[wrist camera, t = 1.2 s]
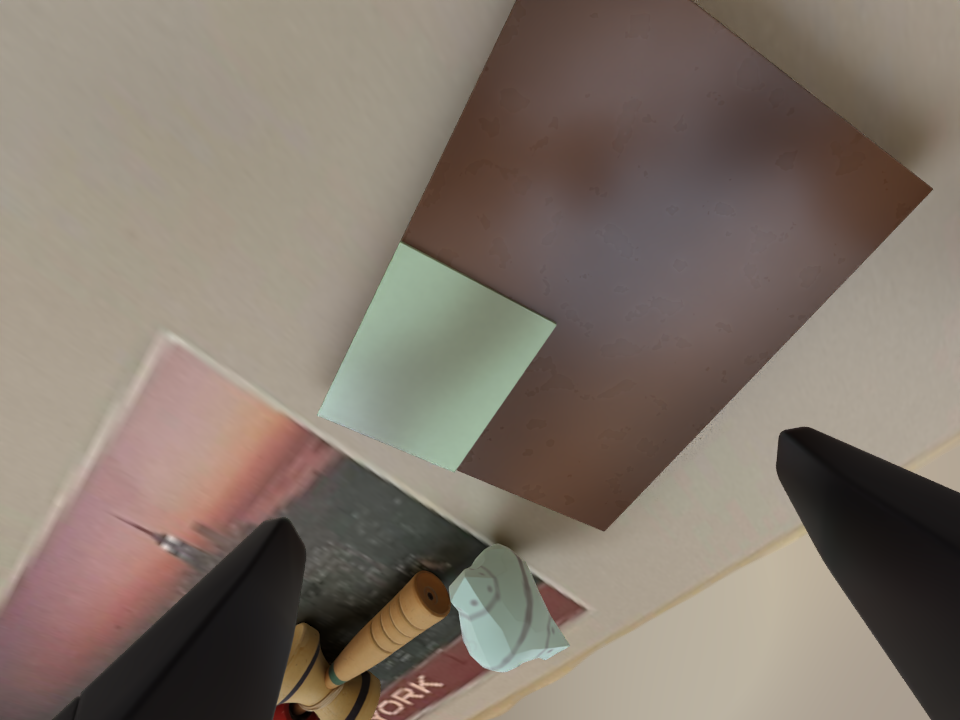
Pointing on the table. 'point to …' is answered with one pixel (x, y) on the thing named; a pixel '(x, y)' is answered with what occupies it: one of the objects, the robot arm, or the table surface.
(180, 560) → the table surface
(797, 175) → the walnut board
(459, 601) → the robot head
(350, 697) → the kendama
